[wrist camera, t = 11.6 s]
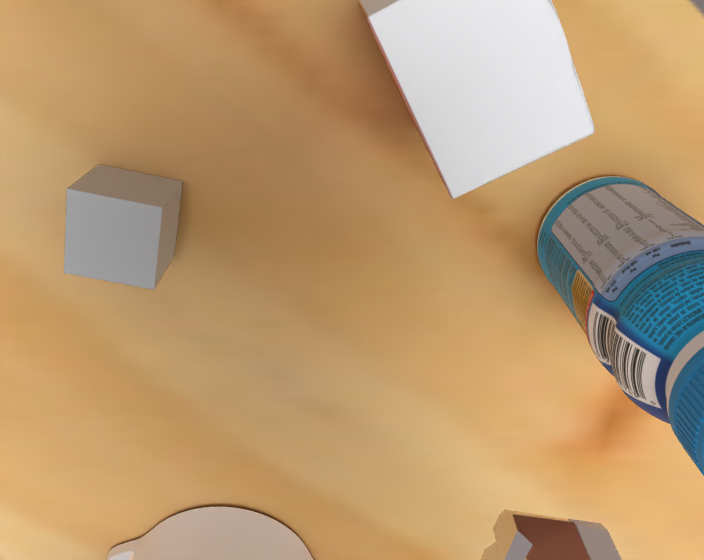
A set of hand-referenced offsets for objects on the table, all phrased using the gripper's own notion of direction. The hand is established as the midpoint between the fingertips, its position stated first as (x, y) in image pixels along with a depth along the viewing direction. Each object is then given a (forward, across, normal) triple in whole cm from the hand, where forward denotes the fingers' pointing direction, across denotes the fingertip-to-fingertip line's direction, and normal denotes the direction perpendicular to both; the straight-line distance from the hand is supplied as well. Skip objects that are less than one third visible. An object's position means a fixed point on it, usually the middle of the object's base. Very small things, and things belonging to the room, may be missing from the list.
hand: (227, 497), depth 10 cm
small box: (+31, -6, -5) cm, 32 cm away
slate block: (+31, +9, +8) cm, 34 cm away
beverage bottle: (+31, -19, +4) cm, 37 cm away
